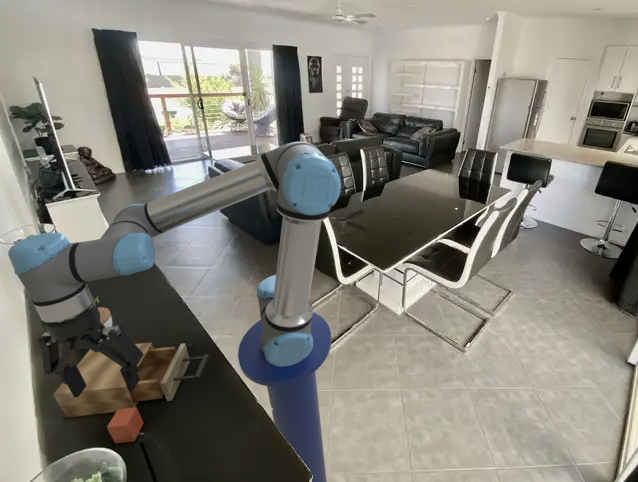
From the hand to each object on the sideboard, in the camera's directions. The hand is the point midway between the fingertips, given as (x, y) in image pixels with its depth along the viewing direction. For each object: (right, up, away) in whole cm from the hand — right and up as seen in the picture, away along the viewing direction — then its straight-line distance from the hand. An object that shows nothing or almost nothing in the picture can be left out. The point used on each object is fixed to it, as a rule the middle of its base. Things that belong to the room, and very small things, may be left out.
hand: (107, 388), depth 70 cm
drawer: (+1, -8, +18) cm, 20 cm away
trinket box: (-31, -3, +33) cm, 45 cm away
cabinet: (-11, -10, +17) cm, 23 cm away
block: (0, -14, +6) cm, 16 cm away
